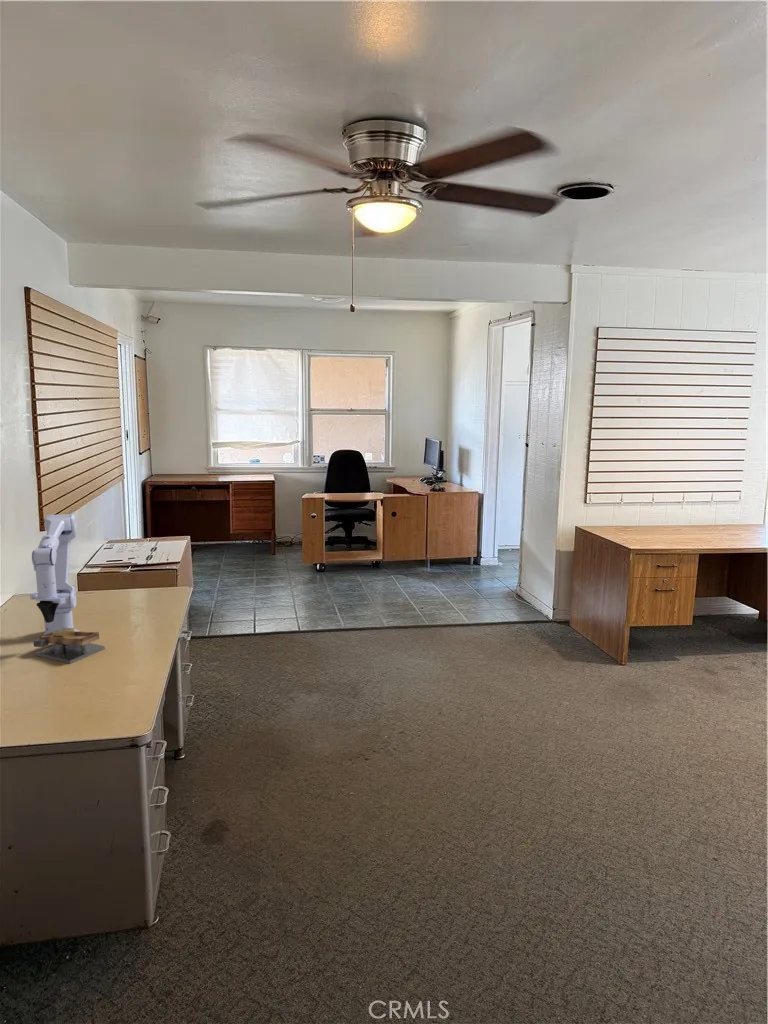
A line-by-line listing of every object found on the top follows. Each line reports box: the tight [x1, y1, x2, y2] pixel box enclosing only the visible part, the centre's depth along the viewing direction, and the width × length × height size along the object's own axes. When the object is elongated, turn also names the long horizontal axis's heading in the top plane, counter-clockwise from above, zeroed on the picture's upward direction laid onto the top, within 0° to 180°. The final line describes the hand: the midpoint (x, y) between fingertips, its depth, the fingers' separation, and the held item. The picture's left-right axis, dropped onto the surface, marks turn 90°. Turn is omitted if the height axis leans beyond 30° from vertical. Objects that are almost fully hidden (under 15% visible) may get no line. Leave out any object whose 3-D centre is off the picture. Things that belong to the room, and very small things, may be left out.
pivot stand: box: [35, 642, 106, 664], centre depth 218 cm, size 16×14×5 cm
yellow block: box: [52, 627, 75, 638], centre depth 219 cm, size 5×4×2 cm
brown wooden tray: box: [32, 630, 100, 648], centre depth 218 cm, size 20×12×3 cm, turn 66°
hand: (49, 621), depth 221 cm, fingers closed
